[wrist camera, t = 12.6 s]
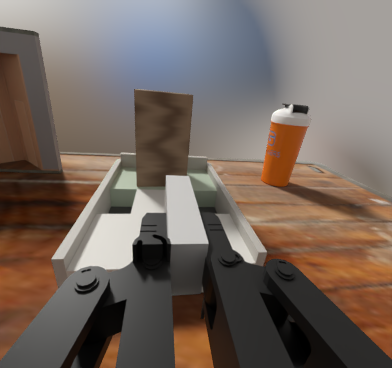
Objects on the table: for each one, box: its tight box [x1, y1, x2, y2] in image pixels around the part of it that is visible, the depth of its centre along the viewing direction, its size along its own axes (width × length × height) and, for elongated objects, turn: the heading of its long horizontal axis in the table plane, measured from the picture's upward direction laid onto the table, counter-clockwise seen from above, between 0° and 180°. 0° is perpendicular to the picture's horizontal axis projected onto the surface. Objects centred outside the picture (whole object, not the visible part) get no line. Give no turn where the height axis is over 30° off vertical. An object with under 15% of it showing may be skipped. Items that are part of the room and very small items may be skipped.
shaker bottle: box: [261, 104, 311, 187], centre depth 54 cm, size 9×9×20 cm
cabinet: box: [0, 27, 63, 173], centre depth 46 cm, size 21×10×28 cm, turn 98°
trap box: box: [51, 153, 267, 292], centre depth 35 cm, size 21×30×7 cm
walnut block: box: [134, 89, 193, 187], centre depth 39 cm, size 9×9×16 cm
